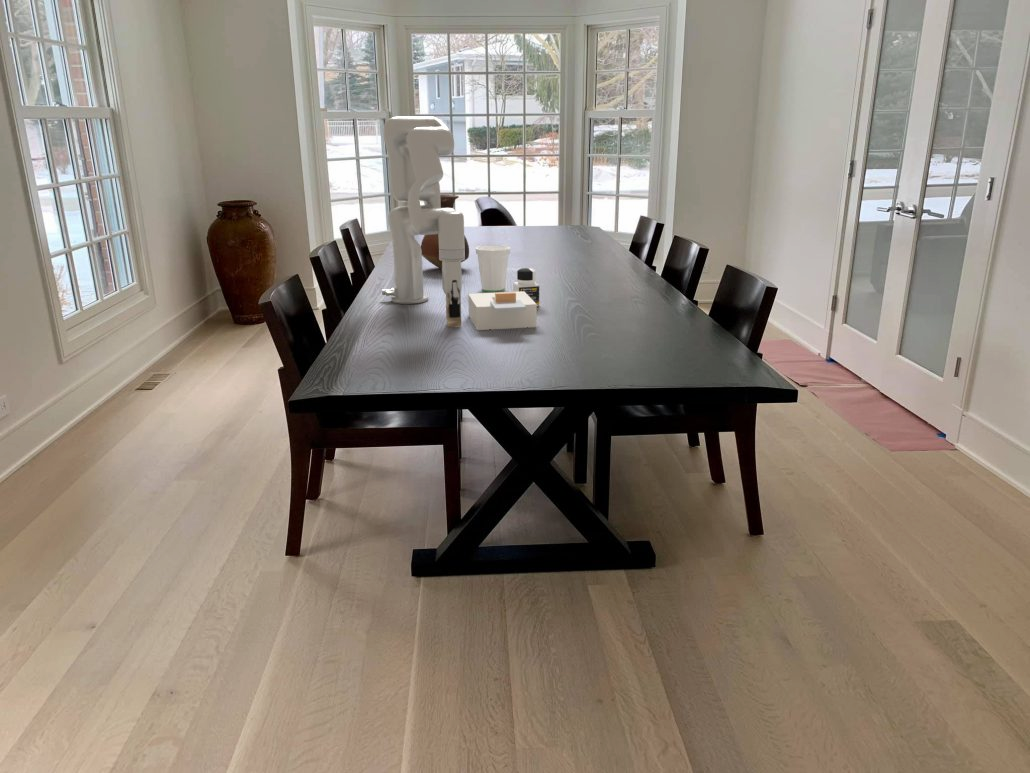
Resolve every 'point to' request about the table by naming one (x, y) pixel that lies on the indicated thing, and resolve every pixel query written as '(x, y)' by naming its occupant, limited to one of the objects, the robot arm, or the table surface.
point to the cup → (493, 266)
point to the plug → (456, 320)
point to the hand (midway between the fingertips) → (453, 314)
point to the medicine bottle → (527, 284)
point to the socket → (501, 312)
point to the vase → (432, 242)
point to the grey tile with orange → (507, 302)
